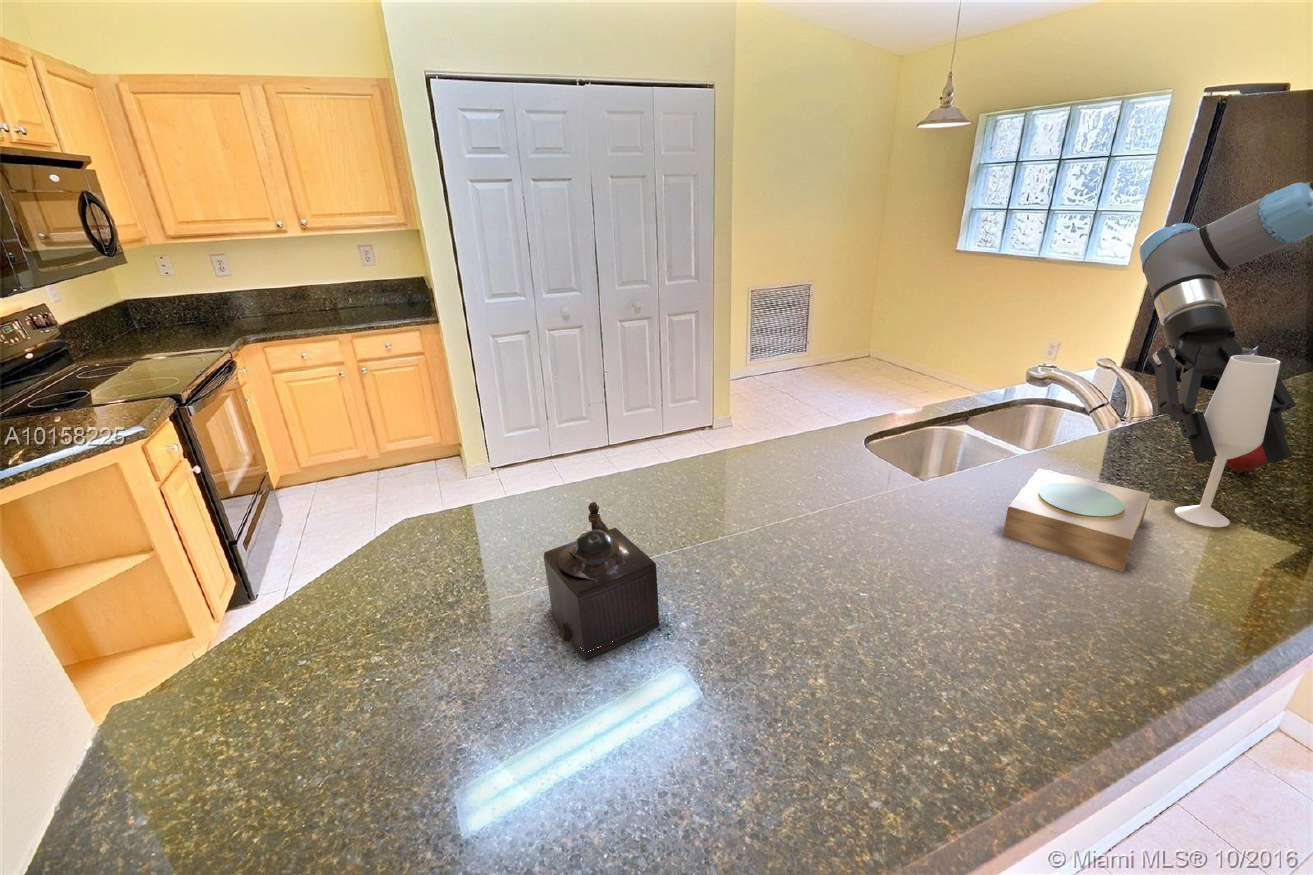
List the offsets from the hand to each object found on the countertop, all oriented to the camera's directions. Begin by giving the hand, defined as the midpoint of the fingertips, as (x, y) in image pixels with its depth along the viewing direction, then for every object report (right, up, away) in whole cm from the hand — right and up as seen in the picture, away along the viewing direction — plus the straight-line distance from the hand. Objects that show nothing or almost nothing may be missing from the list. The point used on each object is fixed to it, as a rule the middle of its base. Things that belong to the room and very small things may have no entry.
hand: (1242, 459), depth 78 cm
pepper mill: (-85, -21, -8) cm, 88 cm away
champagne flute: (+1, -9, +7) cm, 12 cm away
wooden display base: (-19, -11, +6) cm, 22 cm away
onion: (+19, -3, +19) cm, 27 cm away
